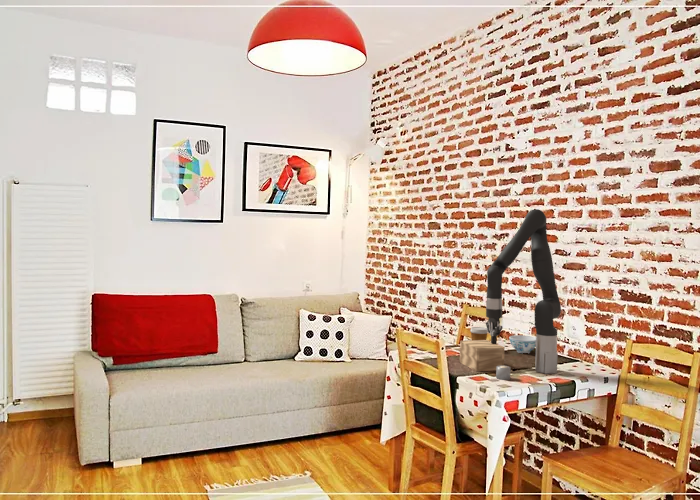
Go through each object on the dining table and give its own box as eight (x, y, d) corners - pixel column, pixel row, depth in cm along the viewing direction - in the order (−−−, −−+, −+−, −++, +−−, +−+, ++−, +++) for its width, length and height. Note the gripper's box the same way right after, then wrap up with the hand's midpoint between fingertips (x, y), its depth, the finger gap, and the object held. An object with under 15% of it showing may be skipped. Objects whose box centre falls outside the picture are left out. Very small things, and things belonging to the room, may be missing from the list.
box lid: (504, 348, 281) (504, 347, 281) (476, 349, 277) (476, 348, 277) (486, 341, 298) (486, 339, 298) (460, 341, 295) (460, 340, 295)
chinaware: (521, 356, 312) (521, 341, 311) (502, 350, 325) (503, 336, 325) (544, 354, 318) (544, 339, 317) (525, 348, 331) (525, 334, 331)
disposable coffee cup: (466, 350, 324) (466, 328, 323) (475, 348, 331) (476, 326, 330) (481, 353, 317) (482, 330, 317) (491, 350, 324) (491, 328, 324)
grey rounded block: (512, 379, 264) (513, 368, 263) (500, 380, 262) (500, 368, 262) (505, 376, 269) (506, 364, 269) (493, 376, 268) (494, 365, 268)
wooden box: (503, 369, 281) (504, 348, 281) (476, 371, 278) (476, 349, 277) (485, 361, 299) (486, 341, 298) (459, 362, 295) (460, 342, 295)
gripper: (508, 309, 283) (507, 345, 284) (494, 305, 296) (494, 340, 297) (493, 309, 281) (493, 346, 282) (480, 305, 294) (480, 341, 295)
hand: (493, 343), depth 289 cm, fingers closed
